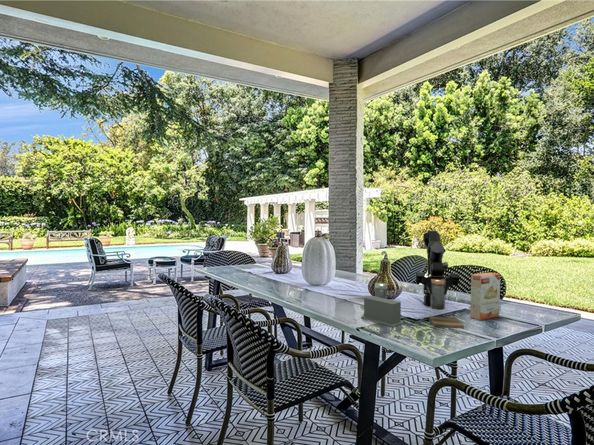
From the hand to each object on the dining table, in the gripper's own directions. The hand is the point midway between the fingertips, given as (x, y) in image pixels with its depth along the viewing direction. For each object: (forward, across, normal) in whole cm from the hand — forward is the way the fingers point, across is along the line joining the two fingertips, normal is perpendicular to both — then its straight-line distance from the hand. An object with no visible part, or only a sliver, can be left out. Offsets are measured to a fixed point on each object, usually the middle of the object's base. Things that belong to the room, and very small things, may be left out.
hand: (438, 294), depth 167 cm
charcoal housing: (+11, -24, +8) cm, 28 cm away
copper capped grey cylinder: (+4, 0, +6) cm, 7 cm away
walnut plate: (+8, +4, +11) cm, 14 cm away
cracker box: (-2, +23, +22) cm, 31 cm away
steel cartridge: (-4, -26, +23) cm, 35 cm away
